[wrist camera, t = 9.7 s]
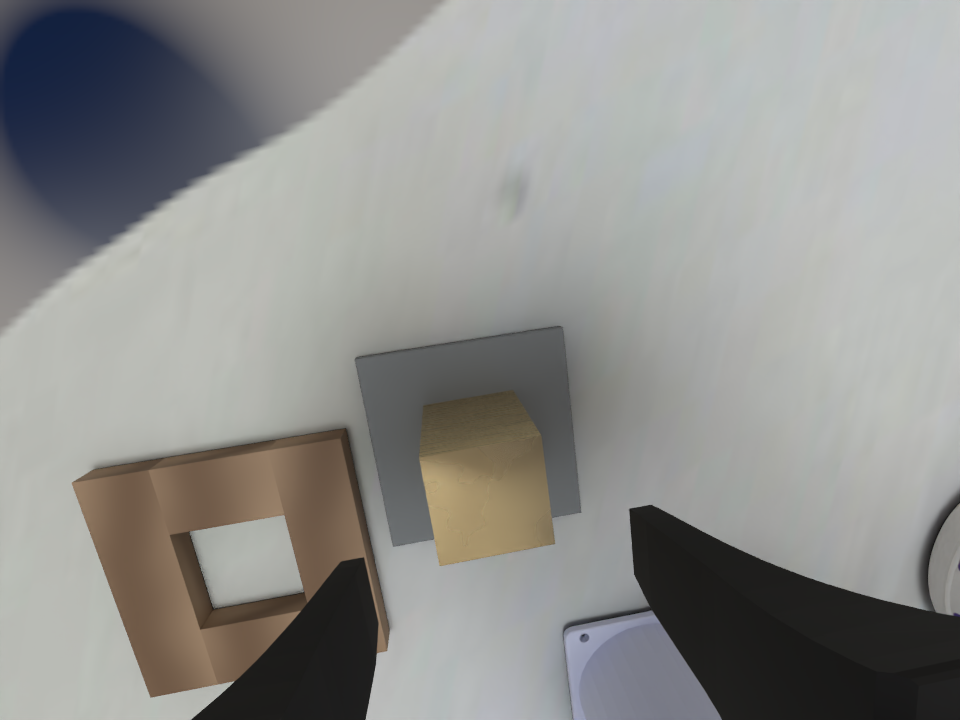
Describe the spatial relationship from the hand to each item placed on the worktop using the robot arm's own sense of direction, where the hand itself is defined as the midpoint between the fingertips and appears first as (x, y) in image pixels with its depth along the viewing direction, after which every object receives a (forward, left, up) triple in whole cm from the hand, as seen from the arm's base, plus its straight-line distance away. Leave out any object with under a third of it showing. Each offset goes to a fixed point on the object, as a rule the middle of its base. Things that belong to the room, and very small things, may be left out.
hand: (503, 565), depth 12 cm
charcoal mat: (0, 0, -9) cm, 9 cm away
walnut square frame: (+11, +4, -9) cm, 15 cm away
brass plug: (0, 0, -9) cm, 9 cm away
